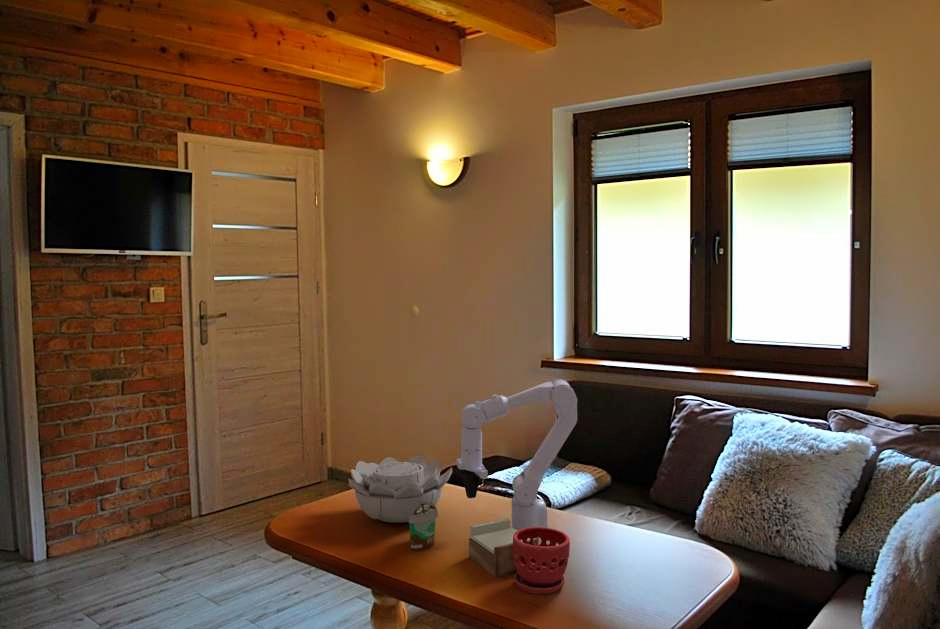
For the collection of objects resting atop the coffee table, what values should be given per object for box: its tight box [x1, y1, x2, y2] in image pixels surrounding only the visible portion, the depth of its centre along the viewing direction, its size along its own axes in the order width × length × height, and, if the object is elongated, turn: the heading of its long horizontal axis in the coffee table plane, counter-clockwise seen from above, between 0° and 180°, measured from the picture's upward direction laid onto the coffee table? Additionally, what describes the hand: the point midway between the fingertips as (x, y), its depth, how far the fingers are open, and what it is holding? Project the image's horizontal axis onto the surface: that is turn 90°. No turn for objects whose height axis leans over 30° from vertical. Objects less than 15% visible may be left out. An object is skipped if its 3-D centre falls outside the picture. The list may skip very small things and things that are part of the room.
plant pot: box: [513, 527, 571, 595], centre depth 172 cm, size 13×13×12 cm
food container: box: [408, 501, 439, 552], centre depth 198 cm, size 12×6×10 cm, turn 168°
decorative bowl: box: [348, 454, 453, 524], centre depth 219 cm, size 30×30×15 cm
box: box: [468, 537, 539, 578], centre depth 186 cm, size 12×14×7 cm
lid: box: [468, 518, 530, 554], centre depth 186 cm, size 12×13×3 cm
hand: (471, 497), depth 204 cm, fingers closed
